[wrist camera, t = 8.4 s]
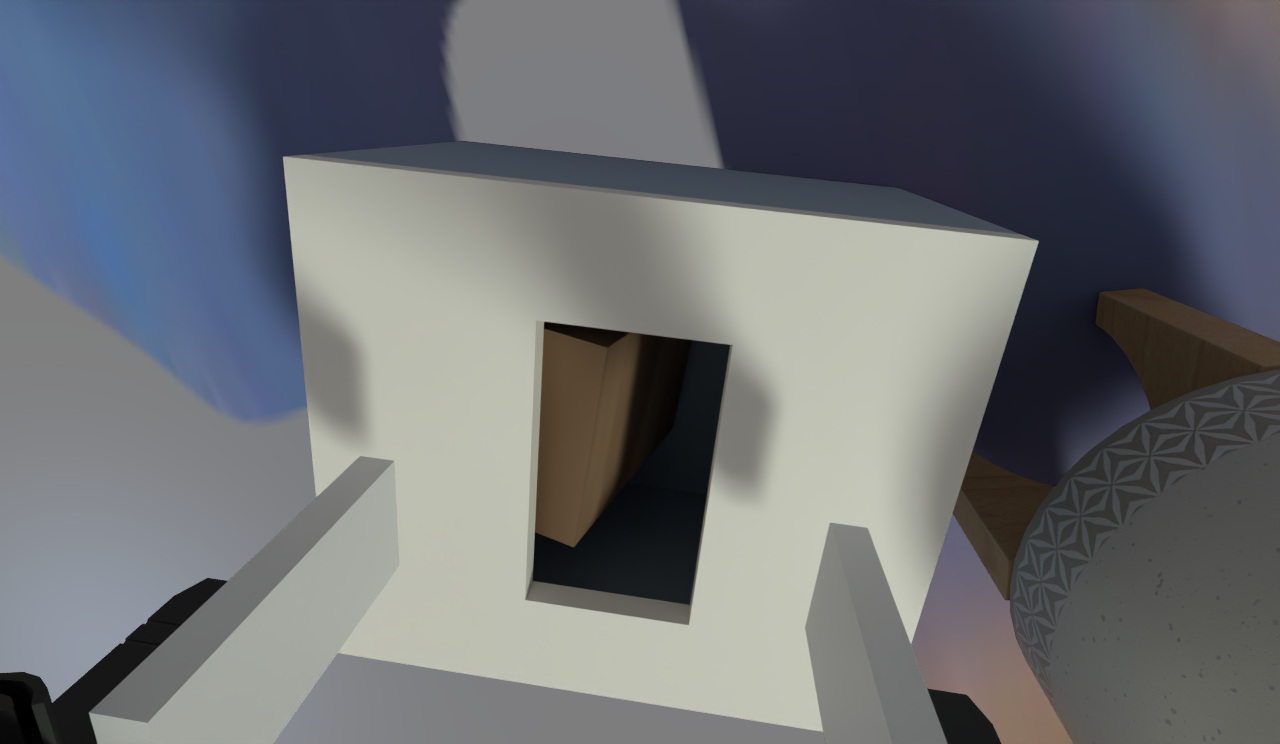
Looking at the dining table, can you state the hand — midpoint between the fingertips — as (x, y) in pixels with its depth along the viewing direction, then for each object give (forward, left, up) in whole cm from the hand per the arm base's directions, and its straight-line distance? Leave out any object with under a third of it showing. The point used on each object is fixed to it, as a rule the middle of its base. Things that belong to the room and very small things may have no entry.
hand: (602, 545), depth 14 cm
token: (0, 0, -13) cm, 13 cm away
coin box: (0, 0, -14) cm, 14 cm away
